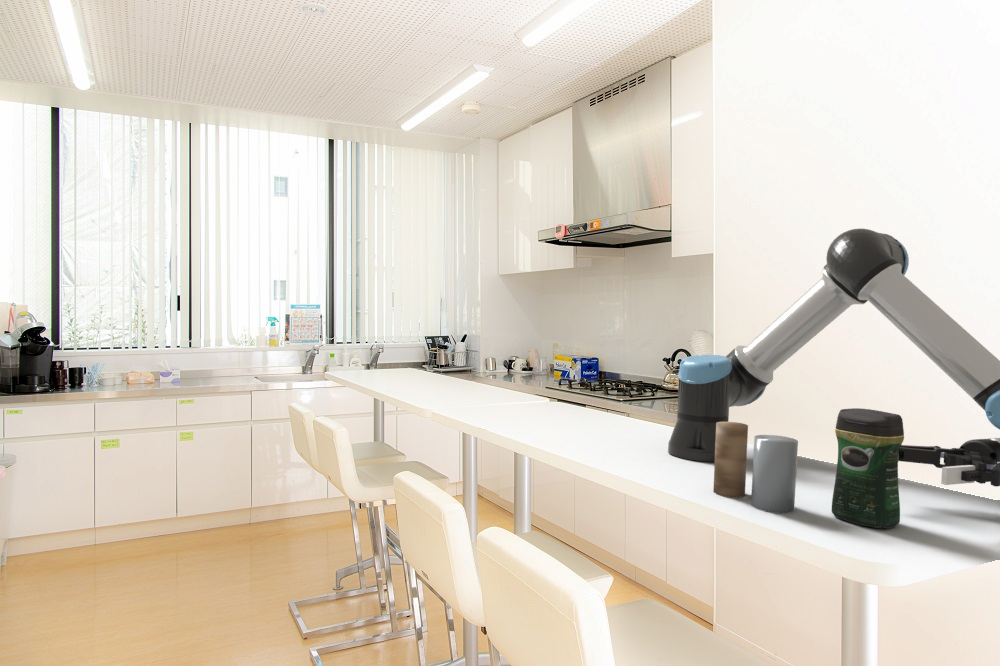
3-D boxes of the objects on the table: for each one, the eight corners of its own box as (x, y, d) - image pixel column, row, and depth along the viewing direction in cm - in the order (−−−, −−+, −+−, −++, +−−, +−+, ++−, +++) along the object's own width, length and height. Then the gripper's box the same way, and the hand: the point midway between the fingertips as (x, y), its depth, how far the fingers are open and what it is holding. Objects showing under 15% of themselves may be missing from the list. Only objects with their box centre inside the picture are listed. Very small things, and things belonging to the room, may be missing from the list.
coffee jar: (907, 526, 106) (914, 412, 105) (880, 533, 102) (887, 415, 101) (849, 509, 114) (855, 404, 114) (822, 515, 110) (828, 406, 109)
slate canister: (742, 502, 116) (745, 435, 116) (773, 499, 119) (777, 434, 118) (770, 514, 110) (774, 444, 109) (803, 511, 112) (807, 442, 111)
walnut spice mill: (707, 489, 124) (710, 422, 123) (731, 488, 126) (734, 421, 125) (726, 498, 119) (729, 427, 118) (751, 496, 120) (754, 426, 120)
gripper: (1070, 500, 106) (979, 510, 98) (924, 464, 129) (842, 469, 122) (1073, 454, 105) (982, 460, 98) (926, 426, 129) (844, 429, 122)
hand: (904, 465), depth 110 cm, fingers open, 13 cm apart
